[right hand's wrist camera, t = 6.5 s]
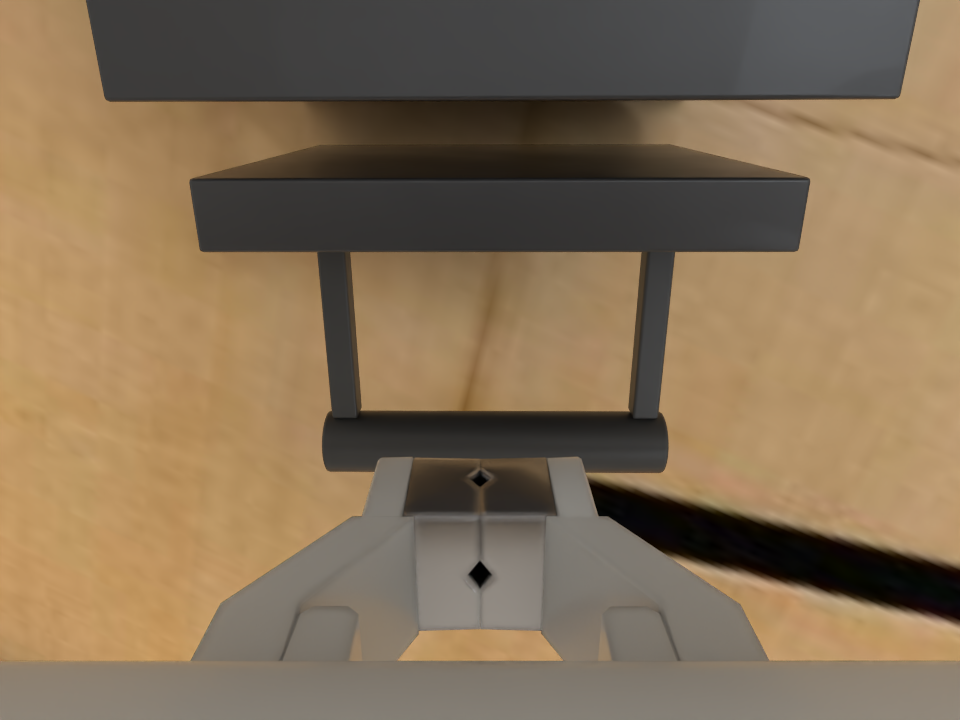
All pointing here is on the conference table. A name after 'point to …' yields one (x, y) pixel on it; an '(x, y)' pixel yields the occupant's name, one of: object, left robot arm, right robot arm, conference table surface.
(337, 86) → the cabinet
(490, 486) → the right robot arm
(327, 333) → the drawer
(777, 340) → the conference table surface
